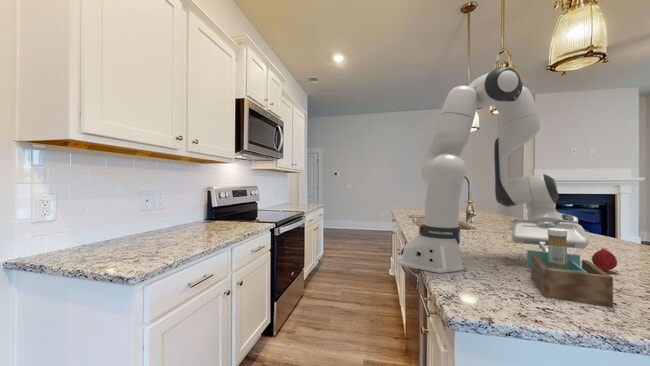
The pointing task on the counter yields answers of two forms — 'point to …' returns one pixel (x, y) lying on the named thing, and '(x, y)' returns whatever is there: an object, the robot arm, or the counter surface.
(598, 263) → the onion
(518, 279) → the counter surface
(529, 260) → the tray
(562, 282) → the open wooden box
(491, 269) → the counter surface
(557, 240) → the pill bottle
